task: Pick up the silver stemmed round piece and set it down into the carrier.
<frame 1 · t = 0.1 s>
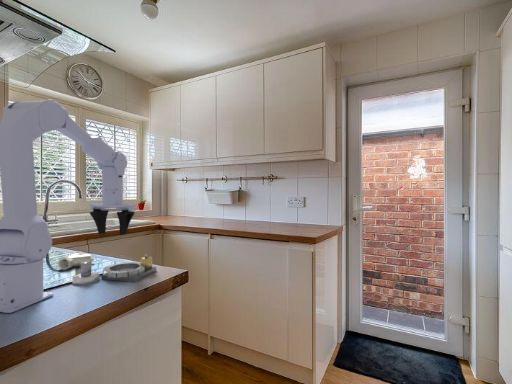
hand: (112, 233, 87), 10 cm above the worktop, tool pointing down, fingers open, 7 cm apart
silver stemmed round piece: (86, 281, 73), on the worktop
pipe fitting: (78, 267, 87), on the worktop
carrier: (130, 274, 79), on the worktop
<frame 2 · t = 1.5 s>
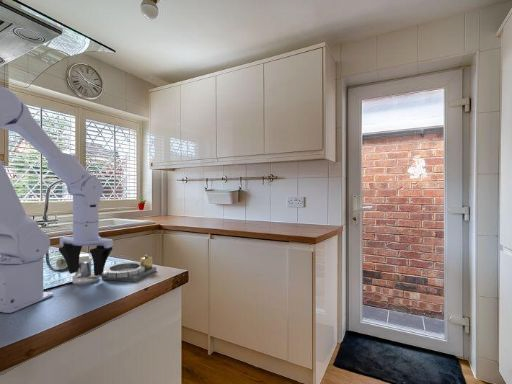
hand: (86, 273, 73), 2 cm above the worktop, tool pointing down, fingers open, 7 cm apart
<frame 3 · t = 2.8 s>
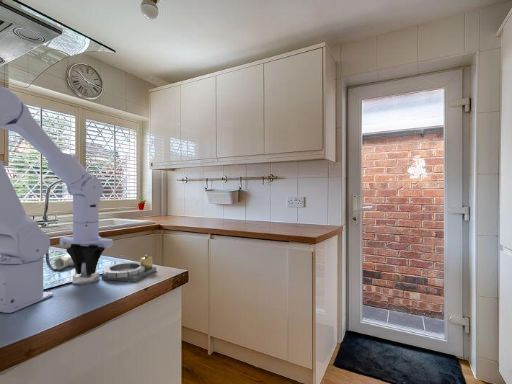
hand: (86, 273, 73), 2 cm above the worktop, tool pointing down, fingers closed on silver stemmed round piece, 2 cm apart
silver stemmed round piece: (86, 280, 73), on the worktop, touching gripper
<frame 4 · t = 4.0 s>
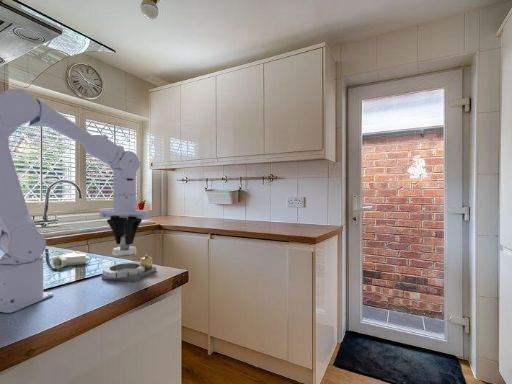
hand: (124, 243, 78), 9 cm above the worktop, tool pointing down, fingers closed on silver stemmed round piece, 2 cm apart
silver stemmed round piece: (124, 253, 78), point 6 cm above the worktop, touching gripper
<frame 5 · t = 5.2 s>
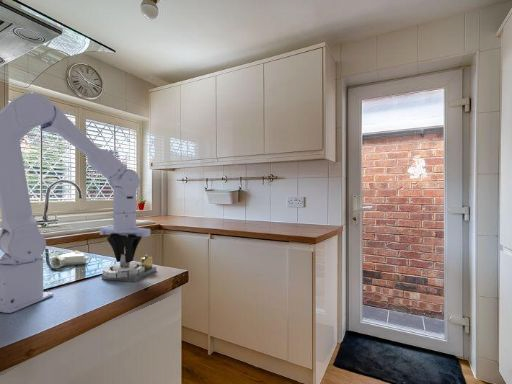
hand: (124, 261, 78), 4 cm above the worktop, tool pointing down, fingers closed on silver stemmed round piece, 2 cm apart
silver stemmed round piece: (124, 271, 78), point 1 cm above the worktop, touching carrier, gripper
when the fingers open (4 cm above the worktop, at t = 5.5 s): silver stemmed round piece stays where it is, resting on carrier.
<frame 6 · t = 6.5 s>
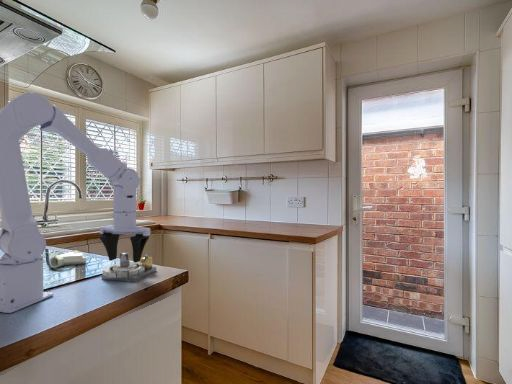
hand: (124, 260, 78), 4 cm above the worktop, tool pointing down, fingers open, 7 cm apart
silver stemmed round piece: (124, 271, 78), point 1 cm above the worktop, touching carrier
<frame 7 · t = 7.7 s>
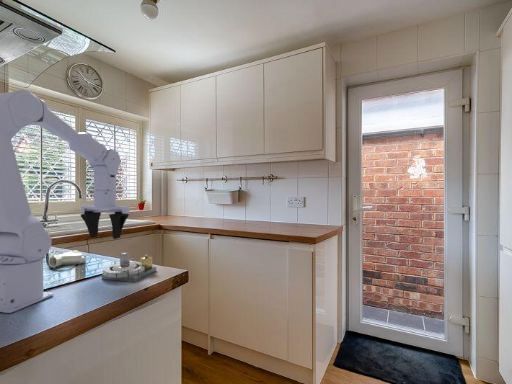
hand: (105, 237, 81), 10 cm above the worktop, tool pointing down, fingers open, 7 cm apart
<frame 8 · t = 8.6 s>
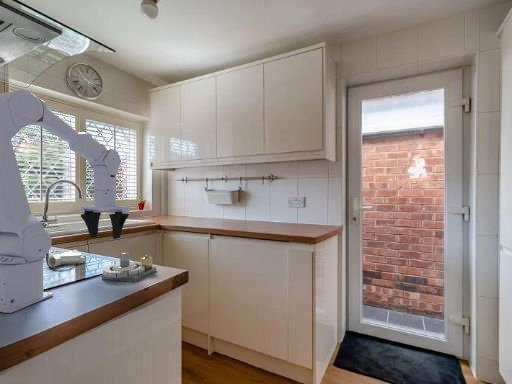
hand: (105, 237, 81), 10 cm above the worktop, tool pointing down, fingers open, 7 cm apart
at the end: silver stemmed round piece 0.0 cm from the target spot on the carrier, point 1.2 cm above the carrier's base; silver stemmed round piece tilted 0°; the gripper is holding nothing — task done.
